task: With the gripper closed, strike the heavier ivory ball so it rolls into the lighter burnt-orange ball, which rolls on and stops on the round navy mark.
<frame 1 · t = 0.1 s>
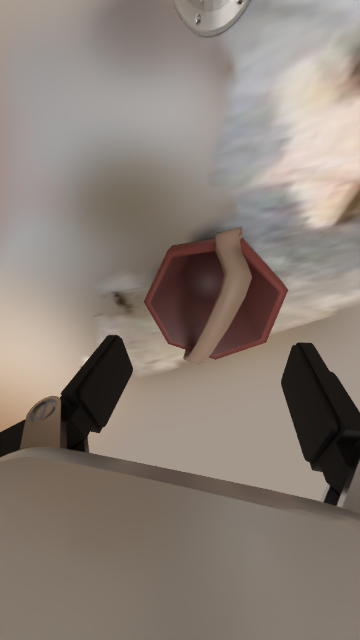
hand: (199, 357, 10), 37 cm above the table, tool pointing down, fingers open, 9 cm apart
bucket: (216, 272, 45), on the table
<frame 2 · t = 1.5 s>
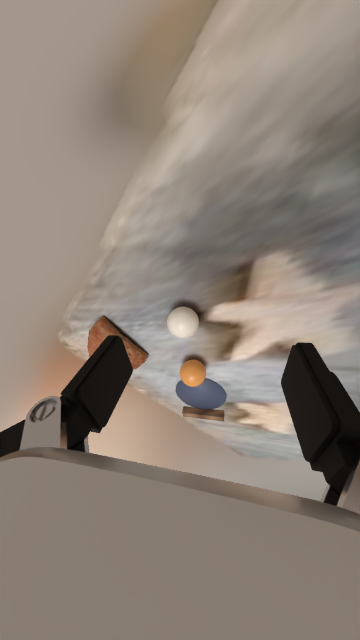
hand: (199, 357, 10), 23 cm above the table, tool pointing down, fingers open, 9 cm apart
object ball: (192, 372, 41), on the table
stopper rail: (203, 410, 54), on the table
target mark: (200, 393, 50), on the table
cue ball: (182, 322, 34), on the table
ceramic shard: (113, 345, 47), on the table
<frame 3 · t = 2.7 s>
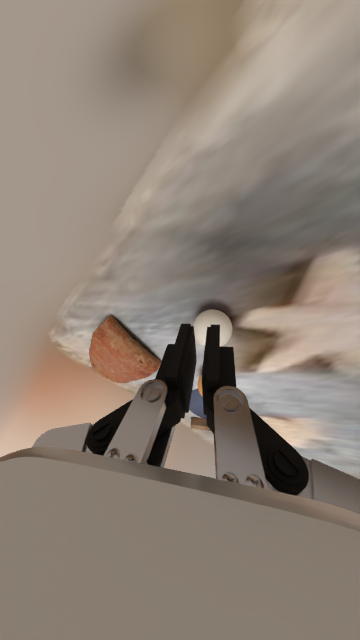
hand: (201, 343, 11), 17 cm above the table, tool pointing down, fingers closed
object ball: (212, 385, 35), on the table
stopper rail: (213, 421, 49), on the table
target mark: (213, 405, 45), on the table
cue ball: (212, 328, 28), on the table
ceramic shard: (119, 349, 40), on the table
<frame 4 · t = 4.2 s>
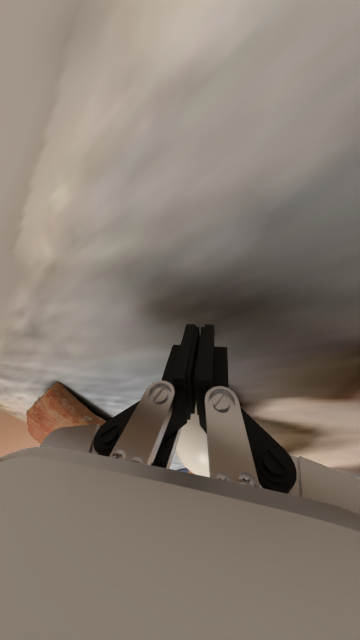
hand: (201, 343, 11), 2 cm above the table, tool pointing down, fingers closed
cue ball: (207, 432, 16), on the table
ceramic shard: (80, 416, 28), on the table
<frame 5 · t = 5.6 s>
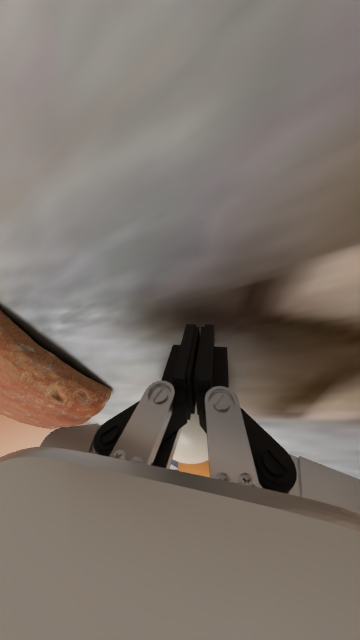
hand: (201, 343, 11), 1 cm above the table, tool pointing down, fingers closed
object ball: (207, 465, 18), on the table
cue ball: (189, 411, 13), on the table
ceramic shard: (34, 365, 21), on the table
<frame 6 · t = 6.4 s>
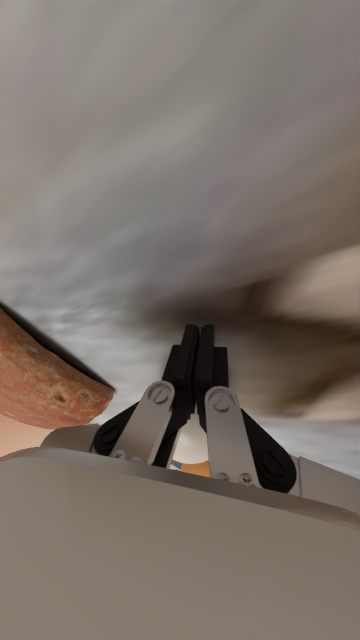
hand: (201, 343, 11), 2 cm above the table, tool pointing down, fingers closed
object ball: (207, 474, 20), on the table
cue ball: (189, 411, 13), on the table
ceramic shard: (36, 365, 21), on the table
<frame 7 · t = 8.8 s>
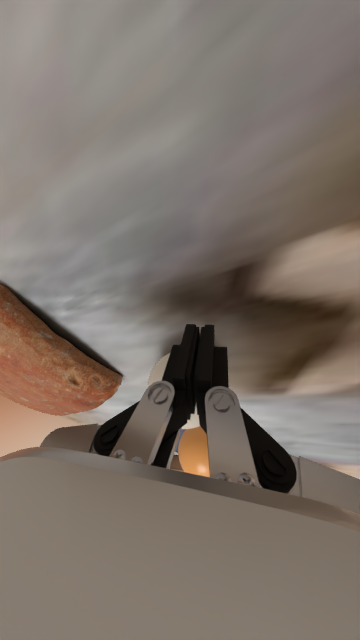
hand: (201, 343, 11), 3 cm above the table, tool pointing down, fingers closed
object ball: (203, 450, 21), on the table
stopper rail: (206, 462, 31), on the table
cue ball: (184, 386, 15), on the table
ceramic shard: (47, 355, 22), on the table
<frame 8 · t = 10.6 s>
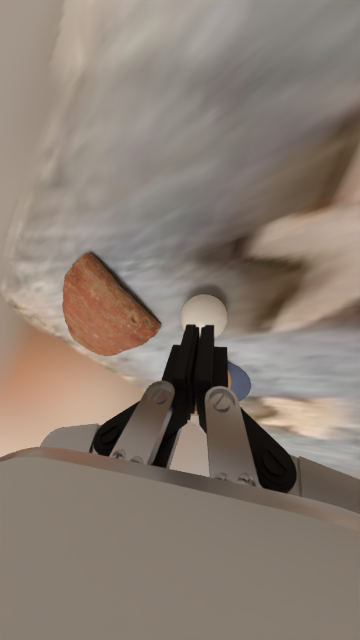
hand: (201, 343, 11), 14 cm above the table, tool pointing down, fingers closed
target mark: (212, 383, 35), on the table
cue ball: (203, 317, 23), on the table
ceramic shard: (105, 310, 31), on the table
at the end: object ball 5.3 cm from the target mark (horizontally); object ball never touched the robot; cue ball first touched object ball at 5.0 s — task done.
